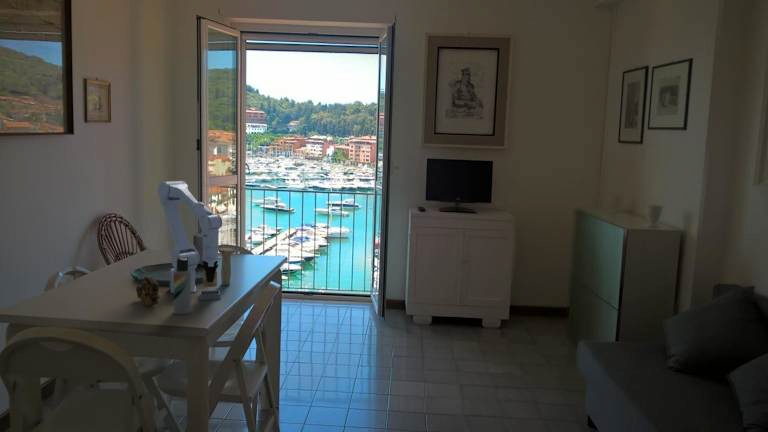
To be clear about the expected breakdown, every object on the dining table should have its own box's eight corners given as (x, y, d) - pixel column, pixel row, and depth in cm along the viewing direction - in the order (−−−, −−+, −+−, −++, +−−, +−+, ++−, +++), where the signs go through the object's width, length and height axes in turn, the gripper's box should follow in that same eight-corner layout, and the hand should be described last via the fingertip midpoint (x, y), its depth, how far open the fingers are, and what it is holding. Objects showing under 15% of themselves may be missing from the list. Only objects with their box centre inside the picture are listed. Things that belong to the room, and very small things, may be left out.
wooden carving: (131, 300, 227) (131, 274, 226) (143, 298, 230) (143, 272, 229) (152, 311, 216) (152, 284, 215) (164, 309, 219) (164, 282, 218)
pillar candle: (193, 260, 294) (193, 229, 292) (214, 259, 297) (214, 229, 294) (193, 265, 285) (193, 233, 282) (214, 264, 288) (215, 233, 285)
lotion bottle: (184, 309, 220) (185, 254, 217) (193, 312, 217) (194, 257, 214) (170, 312, 216) (170, 257, 213) (179, 316, 213) (179, 260, 210)
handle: (228, 286, 252) (229, 251, 250) (215, 284, 254) (216, 249, 252) (235, 284, 257) (236, 249, 254) (222, 282, 259) (223, 247, 257)
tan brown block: (203, 287, 233) (203, 271, 232) (203, 284, 236) (203, 269, 235) (216, 286, 235) (217, 271, 234) (216, 284, 238) (216, 269, 237)
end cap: (199, 299, 232) (199, 294, 232) (199, 295, 237) (199, 290, 237) (220, 299, 235) (220, 294, 234) (219, 295, 240) (219, 290, 239)
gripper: (222, 249, 227) (221, 285, 229) (220, 242, 241) (220, 275, 243) (202, 250, 225) (202, 285, 227) (201, 242, 239) (201, 276, 241)
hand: (210, 280), depth 235 cm, fingers closed on tan brown block, 3 cm apart
